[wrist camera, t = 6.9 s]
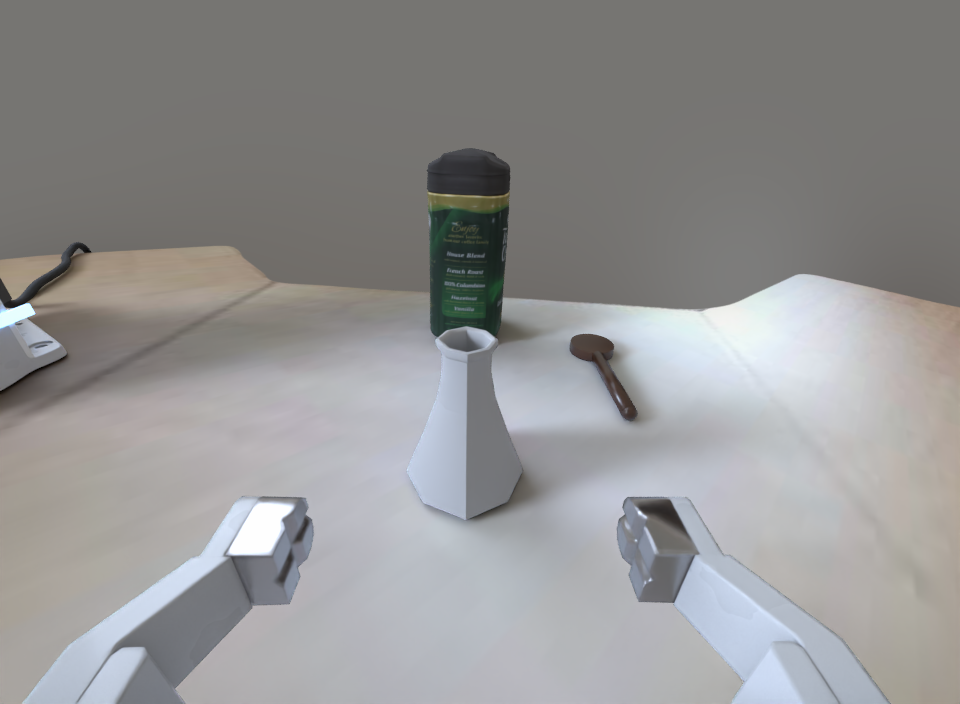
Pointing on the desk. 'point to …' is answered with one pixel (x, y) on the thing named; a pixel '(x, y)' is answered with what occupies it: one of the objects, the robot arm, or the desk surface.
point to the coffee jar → (467, 239)
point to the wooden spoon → (603, 368)
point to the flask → (465, 433)
